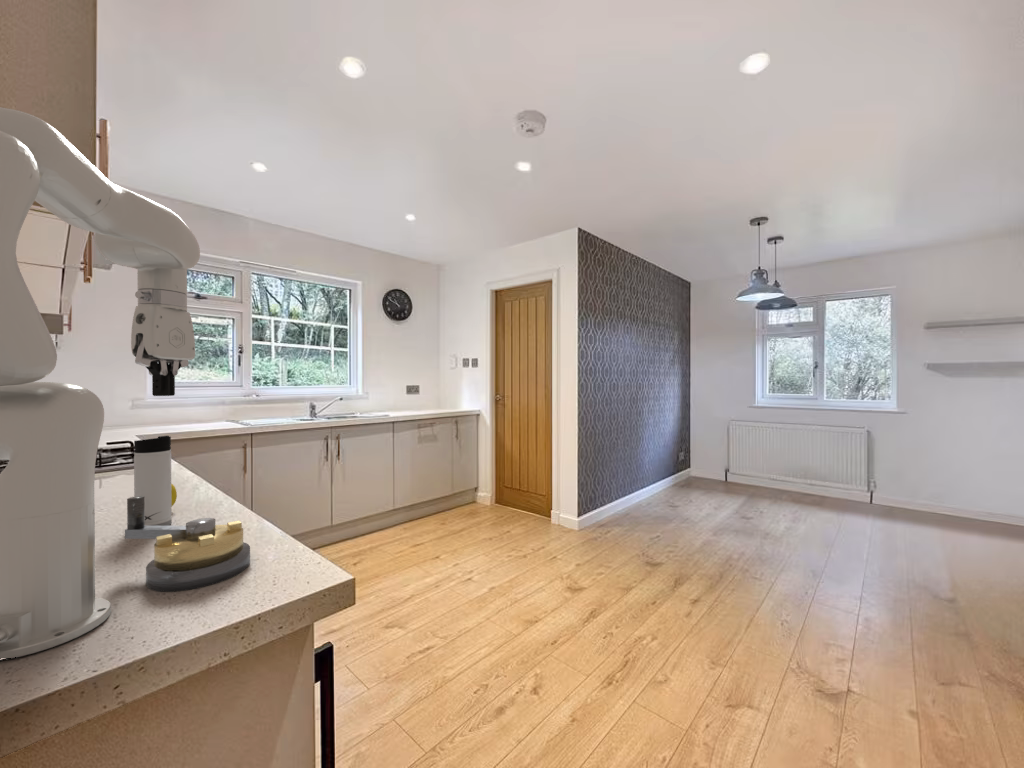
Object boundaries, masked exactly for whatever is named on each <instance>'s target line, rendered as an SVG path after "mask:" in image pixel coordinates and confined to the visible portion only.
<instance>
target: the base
mask: <svg viewBox="0 0 1024 768" xmlns="http://www.w3.org/2000/svg"><path fill="white" fill-rule="evenodd" d="M250 564H251V546H250V545H249V544H248V543H247V542H244V541H243V549H242V551H241V552H240V553H238V554H237V555H235V556H233V557H231V558H229V559H226V560H224V561H221V562H218V563H215V564H211V565H207V566H203V567H198V568H192V569H185V570H162V569H159V568H156V567H155V565H154V559H152V560H151V561H150V562H148V563H147V565H146V567H145V585H146V587H147V588H148V589H149V590H151V591H154V592H155V591H156V592H161V593H162V592H166V593H168V592H169V593H170V592H171V593H172V592H182V591H190V590H195V589H199V588H200V589H201V588H204V587H208V586H212V585H215V584H217V583H221V582H224V581H226V580H229V579H232V578H233V577H235V576H237V575H239V574H241V573H242V572H244V571H245V570H246V569H248V567H249V566H250Z"/></svg>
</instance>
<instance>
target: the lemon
mask: <svg viewBox="0 0 1024 768" xmlns="http://www.w3.org/2000/svg"><path fill="white" fill-rule="evenodd" d="M177 492H178V491H177V489H176V486H175V485H174V484H173V483H171V503H172V507H173V506H174V505H175V503H176V502H177V496H178V493H177Z"/></svg>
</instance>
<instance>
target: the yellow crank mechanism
mask: <svg viewBox="0 0 1024 768" xmlns="http://www.w3.org/2000/svg"><path fill="white" fill-rule="evenodd" d="M126 516H127V517H126V519H127V521H126V524H127V528H126V529H124V539H126V540H128V539H129V540H130V539H135V540H137V539H138V540H139V539H141V540H144V539H146V540H150V539H151V540H153V539H154V540H155V539H156V540H155V542H154V546H153V549H154V550H153V553H154V555H153V556H154V559H153V560H154V565H155V567H156V568H159V569H162V570H185V569H192V568H198V567H203V566H207V565H211V564H215V563H218V562H221V561H224V560H226V559H229V558H231V557H233V556H235V555H237V554H238V553H240V552H241V551H242V549H243V542H244V527H243V526H242V522H241V520H234V521H229V522H227V523H226V524H216V518H215V517H204V518H203V517H202V518H197V519H193V520H189V521H187V522H186V523H185V525H169V526H145V496H136V497H134V496H130V497H128V498H126Z"/></svg>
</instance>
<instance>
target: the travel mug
mask: <svg viewBox="0 0 1024 768" xmlns="http://www.w3.org/2000/svg"><path fill="white" fill-rule="evenodd" d="M171 442H172V437H171V436H170V435H161V436H157V437H156V438H147V439H139V440H134V445H133V446H134V451H133V455H134V456H133V480H134V482H133V486H134V488H133V491H134V492H133V497H136V496H145V526H171V524H172V523H173V522H172V520H173V519H172V515H173V514H172V507H173V506H172V503H171V484H172V447H171V446H172V443H171Z"/></svg>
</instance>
